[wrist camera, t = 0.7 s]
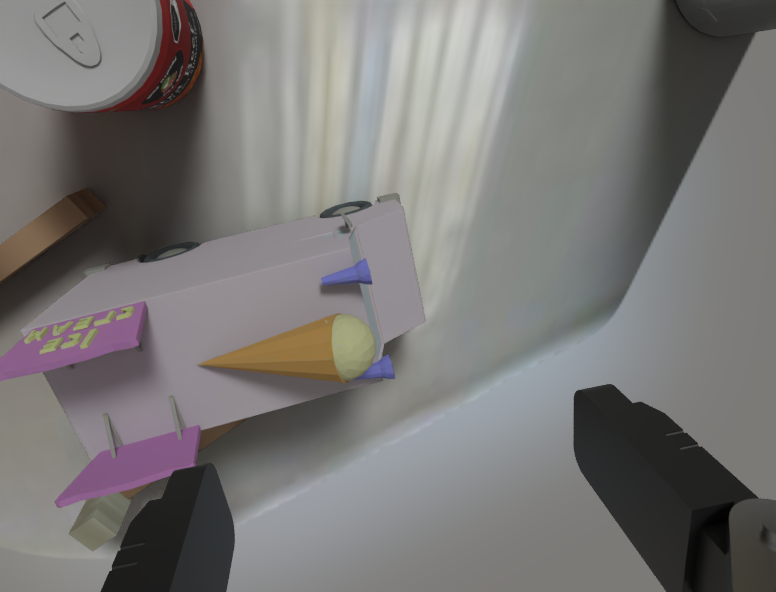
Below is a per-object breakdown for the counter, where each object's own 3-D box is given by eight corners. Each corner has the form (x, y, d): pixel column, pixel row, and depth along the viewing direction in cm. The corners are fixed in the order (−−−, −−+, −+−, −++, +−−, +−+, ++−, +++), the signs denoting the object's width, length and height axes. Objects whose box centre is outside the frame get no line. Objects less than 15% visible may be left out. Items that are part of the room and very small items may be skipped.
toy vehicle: (414, 301, 37) (485, 416, 23) (150, 371, 36) (56, 539, 22) (389, 177, 34) (454, 226, 20) (94, 248, 32) (-60, 356, 18)
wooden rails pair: (84, 184, 31) (37, 201, 25) (270, 385, 37) (266, 434, 32) (-92, 313, 31) (-175, 357, 26) (122, 487, 38) (92, 551, 33)
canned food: (156, 138, 30) (86, 154, 20) (27, 36, 28) (-130, -5, 17) (235, 36, 29) (202, -1, 19) (108, -82, 26) (-9, -199, 16)
